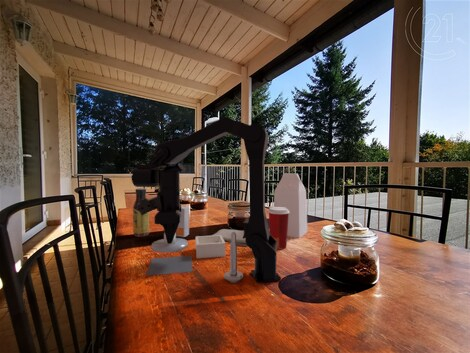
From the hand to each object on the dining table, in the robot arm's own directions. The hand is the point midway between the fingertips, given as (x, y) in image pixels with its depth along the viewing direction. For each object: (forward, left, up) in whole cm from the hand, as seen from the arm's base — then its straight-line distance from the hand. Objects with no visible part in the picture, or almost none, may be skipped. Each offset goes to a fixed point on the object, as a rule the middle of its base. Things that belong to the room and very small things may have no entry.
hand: (170, 241), depth 71 cm
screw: (-13, -16, -8) cm, 22 cm away
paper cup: (+11, -37, -8) cm, 39 cm away
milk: (+28, -49, -8) cm, 57 cm away
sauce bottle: (+36, +14, -8) cm, 39 cm away
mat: (0, 0, -8) cm, 8 cm away
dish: (+8, -12, -8) cm, 16 cm away
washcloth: (+23, -23, -8) cm, 33 cm away
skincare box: (+33, -2, -8) cm, 34 cm away
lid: (0, 0, -1) cm, 1 cm away
